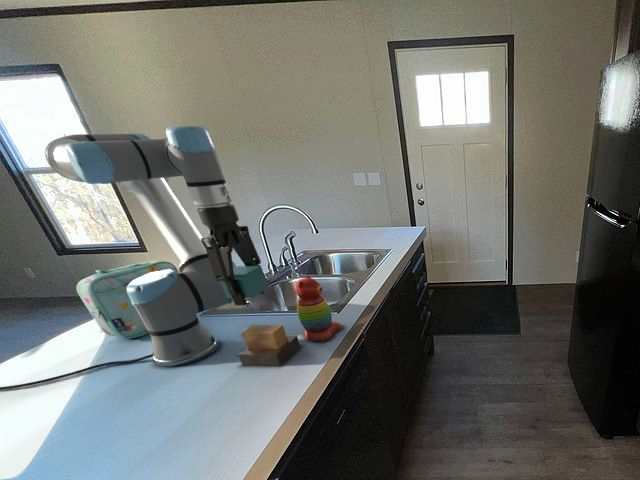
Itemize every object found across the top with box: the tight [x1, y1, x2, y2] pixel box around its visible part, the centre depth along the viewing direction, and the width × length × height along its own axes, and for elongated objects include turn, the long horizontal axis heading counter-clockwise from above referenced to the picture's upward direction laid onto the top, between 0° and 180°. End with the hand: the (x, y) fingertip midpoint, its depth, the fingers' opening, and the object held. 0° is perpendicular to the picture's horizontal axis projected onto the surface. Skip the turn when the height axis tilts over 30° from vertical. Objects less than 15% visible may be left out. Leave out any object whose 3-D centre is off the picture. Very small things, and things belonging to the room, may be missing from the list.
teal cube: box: [220, 265, 269, 299], centre depth 96 cm, size 7×7×6 cm
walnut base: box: [237, 335, 301, 367], centre depth 106 cm, size 11×11×4 cm
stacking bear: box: [294, 275, 343, 342], centre depth 114 cm, size 11×10×18 cm
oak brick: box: [241, 324, 288, 349], centre depth 104 cm, size 9×5×5 cm, turn 85°
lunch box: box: [76, 260, 180, 339], centre depth 123 cm, size 27×10×21 cm, turn 158°
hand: (250, 298), depth 98 cm, fingers closed on teal cube, 7 cm apart
